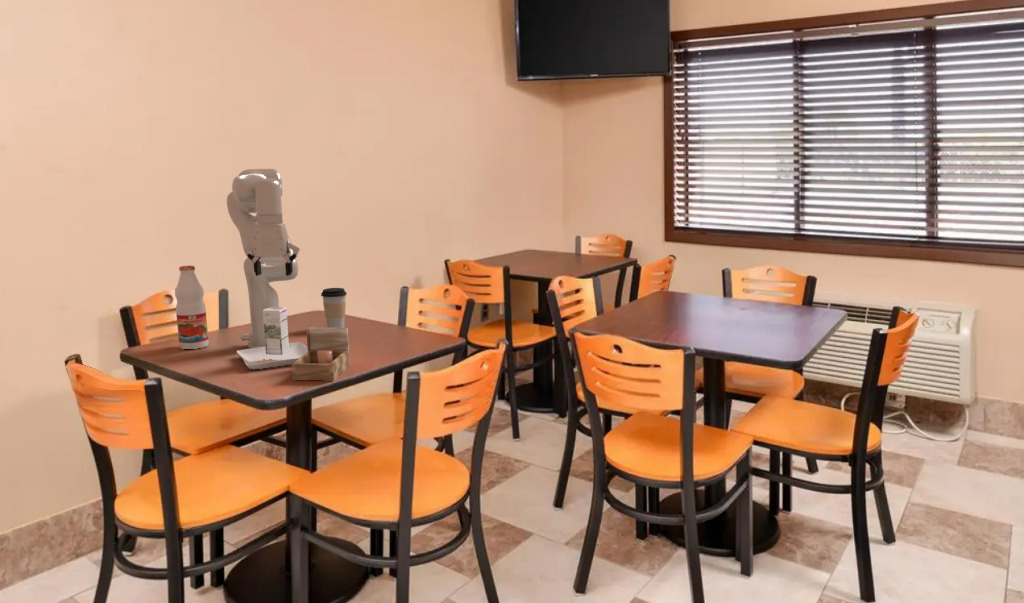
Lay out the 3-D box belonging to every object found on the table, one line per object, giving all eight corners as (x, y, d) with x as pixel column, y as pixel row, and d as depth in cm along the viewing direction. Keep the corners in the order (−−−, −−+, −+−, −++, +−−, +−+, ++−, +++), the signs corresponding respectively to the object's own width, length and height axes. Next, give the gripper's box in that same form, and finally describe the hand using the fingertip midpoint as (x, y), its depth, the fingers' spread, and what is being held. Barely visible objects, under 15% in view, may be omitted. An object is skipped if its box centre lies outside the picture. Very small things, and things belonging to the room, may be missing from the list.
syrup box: (290, 350, 249) (287, 306, 246) (282, 355, 243) (279, 309, 241) (273, 350, 250) (269, 306, 247) (265, 355, 244) (261, 309, 241)
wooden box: (333, 381, 223) (331, 340, 221) (291, 381, 224) (288, 340, 222) (349, 365, 240) (347, 327, 238) (310, 365, 241) (307, 327, 239)
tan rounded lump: (316, 371, 233) (315, 352, 232) (321, 368, 238) (319, 349, 237) (330, 372, 233) (329, 352, 232) (335, 368, 237) (333, 349, 236)
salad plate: (247, 375, 234) (246, 364, 233) (236, 359, 252) (235, 349, 252) (317, 365, 244) (316, 355, 243) (301, 351, 262) (301, 341, 261)
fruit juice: (209, 342, 273) (202, 263, 268) (208, 348, 264) (201, 267, 259) (180, 345, 270) (172, 265, 265) (178, 351, 261) (170, 269, 256)
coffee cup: (345, 331, 288) (343, 291, 285) (320, 331, 288) (317, 291, 285) (351, 325, 297) (348, 287, 294) (326, 326, 297) (324, 287, 294)
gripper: (237, 221, 235) (241, 277, 239) (293, 221, 234) (296, 277, 237) (247, 219, 243) (251, 273, 246) (301, 218, 241) (304, 273, 245)
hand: (273, 275), depth 242 cm, fingers open, 9 cm apart
